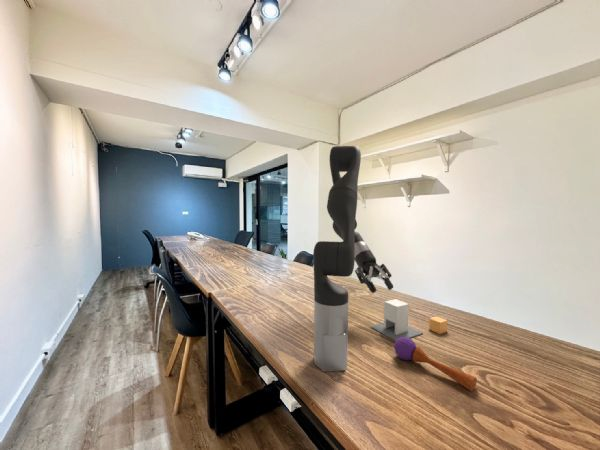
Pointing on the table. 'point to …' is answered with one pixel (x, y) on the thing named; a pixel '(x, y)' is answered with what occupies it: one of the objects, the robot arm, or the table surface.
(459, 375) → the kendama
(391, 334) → the mat
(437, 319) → the block
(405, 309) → the cover
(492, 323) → the table surface
